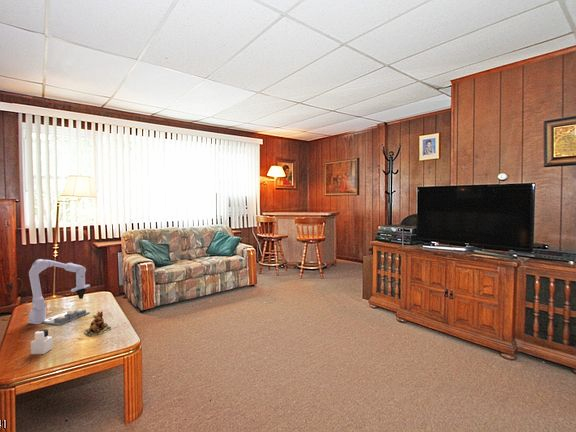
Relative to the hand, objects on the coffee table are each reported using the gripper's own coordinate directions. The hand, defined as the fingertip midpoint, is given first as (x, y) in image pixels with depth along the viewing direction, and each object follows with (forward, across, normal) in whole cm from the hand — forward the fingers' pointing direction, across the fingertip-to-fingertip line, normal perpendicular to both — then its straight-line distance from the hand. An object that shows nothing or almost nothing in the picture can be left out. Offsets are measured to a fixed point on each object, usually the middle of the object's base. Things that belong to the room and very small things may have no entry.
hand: (81, 298), depth 239 cm
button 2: (+9, -6, -5) cm, 12 cm away
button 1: (+9, -20, -5) cm, 23 cm away
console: (+10, -13, 0) cm, 17 cm away
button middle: (+7, -13, -5) cm, 16 cm away
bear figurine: (+11, -25, -42) cm, 50 cm away
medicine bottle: (+11, -56, -35) cm, 67 cm away
